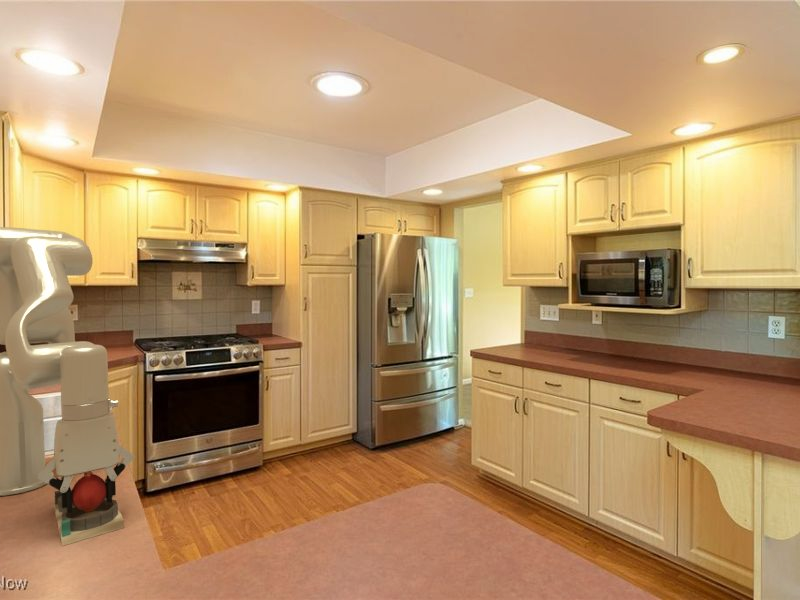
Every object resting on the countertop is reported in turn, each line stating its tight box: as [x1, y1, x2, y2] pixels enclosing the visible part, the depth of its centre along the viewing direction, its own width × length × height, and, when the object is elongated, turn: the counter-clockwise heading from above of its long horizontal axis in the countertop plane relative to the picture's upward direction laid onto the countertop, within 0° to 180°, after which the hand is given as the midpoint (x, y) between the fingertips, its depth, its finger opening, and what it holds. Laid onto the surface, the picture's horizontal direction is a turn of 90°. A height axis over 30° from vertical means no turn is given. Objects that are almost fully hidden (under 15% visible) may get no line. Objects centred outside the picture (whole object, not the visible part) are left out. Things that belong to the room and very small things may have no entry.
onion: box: [71, 471, 107, 513], centre depth 90 cm, size 6×6×8 cm
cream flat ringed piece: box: [53, 489, 125, 547], centre depth 94 cm, size 18×10×4 cm, turn 39°
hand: (89, 504), depth 90 cm, fingers closed on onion, 5 cm apart
